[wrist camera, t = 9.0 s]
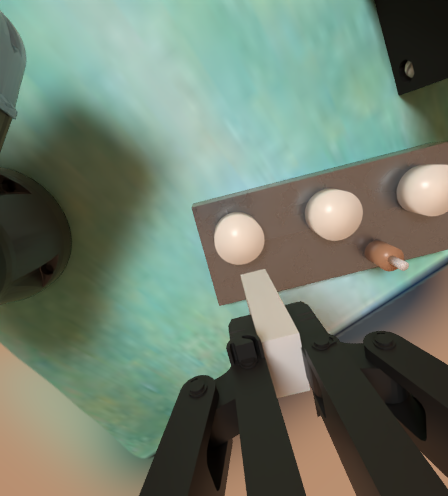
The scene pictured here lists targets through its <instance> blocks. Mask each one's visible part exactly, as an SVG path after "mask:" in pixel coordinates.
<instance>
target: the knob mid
mask: <svg viewBox="0 0 448 496" xmlns="http://www.w3.org/2000/svg"><path fill="white" fill-rule="evenodd" d="M362 216H363V209H362V205H361V203H360V201H359V199H358V198H357V197H356V196H355V195H354V194H352V193H350V192H347V191H343V190H338V189H332V188H329V189H323V190H321V191H319V192H317V193H316V194H314V195H313V196H312V197H311V198H310V200H309V201H308V203H307V205H306V208H305V220H306V223H307V225H308V226H309V228H310V229H311V230H312V231H314V232H315V233H317V234H318V235H320V236H321V237H323V238H325V239H327V240H331V241H338V240H343V239H345V238H347V237H349V236H351V235H352V234H353V233H354V232H355V231H356V230H357V229H358V227H359V225H360V223H361V221H362Z"/></svg>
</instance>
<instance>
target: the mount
mask: <svg viewBox="0 0 448 496" xmlns="http://www.w3.org/2000/svg"><path fill="white" fill-rule="evenodd" d="M423 164H433V165H448V141H445V142H434V143H428V144H424V145H420V146H416V147H412V148H409V149H405V150H401V151H397V152H393V153H389V154H385V155H381V156H377V157H373V158H370V159H366V160H362V161H358V162H354V163H350V164H346V165H342V166H338V167H334V168H330V169H327V170H323V171H319V172H315V173H311V174H307V175H303V176H299V177H295V178H291V179H288V180H284V181H280V182H276V183H272V184H268V185H264V186H260V187H256V188H252V189H248V190H245V191H241V192H237V193H233V194H229V195H225V196H221V197H217V198H213V199H209V200H206V201H202V202H198V203H194V204H193V205H192V211H193V214H194V218H195V222H196V225H197V229H198V232H199V236H200V239H201V243H202V246H203V250H204V253H205V257H206V260H207V264H208V268H209V271H210V275H211V278H212V282H213V285H214V289H215V292H216V296H217V299H218V303H219V306H221V305H225V304H229V303H233V302H237V301H241V300H245V299H246V296H245V292H244V288H243V284H242V280H241V276H240V275H242V274H246V273H250V272H254V271H258V270H262V269H265V270H266V272H267V274H268V275H269V277H270V279H271V281H272V283H273V285H274V287H275V289H276V290H277V291H281V290H286V289H290V288H294V287H298V286H302V285H306V284H310V283H314V282H318V281H322V280H326V279H330V278H334V277H338V276H342V275H346V274H350V273H354V272H358V271H362V270H366V269H370V268H375V267H379V266H377V265H375V264H374V263H372V262H371V261H369V260H367V258H366V257H365V248H366V246H367V245H368V244H369V243H370V242H372V241H375V240H381V241H383V242H385V243H387V244H390V245H392V246H394V247H396V248H398V249H400V250H401V251H402V252H403V254H404V260H407V259H411V258H415V257H419V256H423V255H427V254H431V253H435V252H439V251H443V250H447V249H448V212H446V213H444V214H442V215H439V216H426V215H422V214H418V213H414V212H409V211H407V210H405V209H404V208H402V207H401V205H400V204H399V202H398V200H397V187H398V184H399V181H400V179H401V178H402V176H403V175H404V174H405V173H406V172H407V171H408V170H410V169H411V168H413V167H415V166H418V165H423ZM329 188H332V189H338V190H343V191H347V192H350V193H352V194H354V195H355V196H356V197H357V198H358V199H359V201H360V203H361V205H362V209H363V216H362V221H361V223H360V225H359V227H358V229H357V230H356V231H355V232H354V233H353V234H352V235H351V236H349V237H347V238H345V239H343V240H338V241H331V240H327V239H325V238H323V237H321V236H320V235H318V234H317V233H315V232H314V231H312V230H311V229H310V228H309V226H308V225H307V223H306V220H305V208H306V205H307V203H308V201H309V200H310V198H311V197H312V196H313V195H314V194H316V193H317V192H319V191H321V190H323V189H329ZM233 212H242V213H246V214H248V215H250V216H251V217H253V218H254V219H255V220H256V222H257V223H258V224H259V225H260V227H261V228H262V230H263V233H264V246H263V249H262V251H261V253H260V254H259V256H258V257H257V258H256V259H254V260H253V261H251V262H249V263H247V264H242V265H235V264H231V263H228V262H226V261H225V260H223V259H222V258H221V257H220V256H219V254H218V253H217V251H216V248H215V242H214V231H215V227H216V225H217V223H218V222H219V220H220V219H221V218H223V217H224V216H225V215H227V214H229V213H233Z"/></svg>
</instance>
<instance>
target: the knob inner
mask: <svg viewBox="0 0 448 496" xmlns="http://www.w3.org/2000/svg"><path fill="white" fill-rule="evenodd" d="M214 242H215V248H216V251H217V253H218V254H219V256H220V257H221V258H222V259H223V260H225V261H226V262H228V263H231V264H235V265H242V264H247V263H249V262H251V261H253V260H254V259H256V258H257V257H258V256H259V254H260V253H261V251H262V249H263V246H264V233H263V230H262V228H261V227H260V225H259V224H258V223H257V222H256V220H255V219H254V218H253V217H251V216H250V215H248V214H246V213H242V212H233V213H229V214H227V215H225V216H224V217H223V218H221V219H220V220H219V222H218V223H217V225H216V227H215V231H214Z"/></svg>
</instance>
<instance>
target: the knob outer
mask: <svg viewBox="0 0 448 496" xmlns="http://www.w3.org/2000/svg"><path fill="white" fill-rule="evenodd" d="M397 200H398V202H399V204H400V205H401V207H402V208H404V209H405V210H407V211H409V212H414V213H418V214H422V215H426V216H439V215H442V214H444V213H446V212H448V165H433V164H423V165H418V166H415V167H413V168H411V169H410V170H408V171H407V172H406V173H405V174H404V175H403V176H402V178H401V179H400V181H399V184H398V187H397Z"/></svg>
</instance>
